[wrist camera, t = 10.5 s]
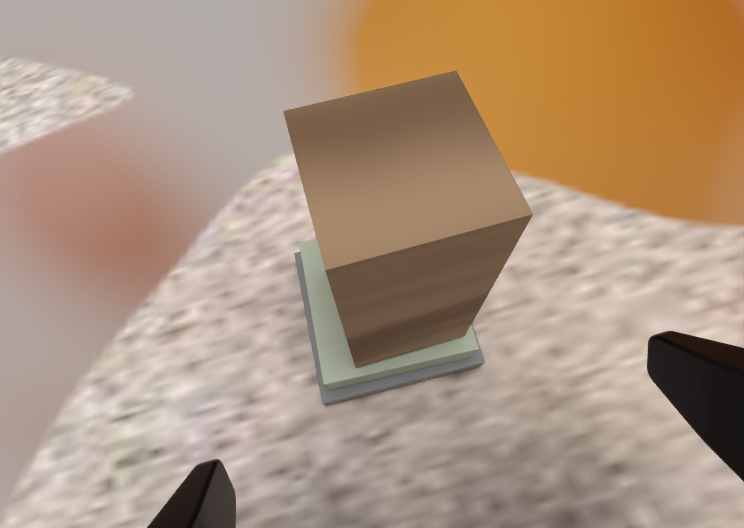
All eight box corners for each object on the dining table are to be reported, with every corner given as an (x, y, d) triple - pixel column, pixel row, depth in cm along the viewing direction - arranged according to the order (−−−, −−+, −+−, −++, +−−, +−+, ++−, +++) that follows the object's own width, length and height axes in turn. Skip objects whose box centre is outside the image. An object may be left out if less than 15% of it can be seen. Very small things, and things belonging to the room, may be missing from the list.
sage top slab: (470, 357, 21) (479, 348, 19) (329, 390, 20) (323, 384, 19) (431, 232, 24) (435, 214, 22) (305, 258, 23) (299, 242, 21)
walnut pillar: (464, 336, 19) (532, 214, 10) (355, 367, 19) (324, 270, 10) (427, 241, 21) (456, 70, 12) (328, 267, 21) (283, 111, 12)
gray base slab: (477, 369, 23) (485, 362, 21) (327, 407, 22) (322, 403, 20) (432, 236, 26) (436, 220, 24) (300, 267, 25) (294, 253, 23)
